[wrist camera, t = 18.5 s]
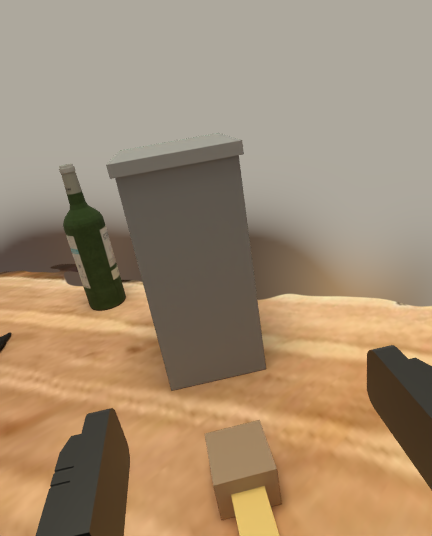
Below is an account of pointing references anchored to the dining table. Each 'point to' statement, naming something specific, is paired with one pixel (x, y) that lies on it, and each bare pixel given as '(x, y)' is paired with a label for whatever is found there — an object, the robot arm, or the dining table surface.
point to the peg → (244, 477)
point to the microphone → (4, 340)
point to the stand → (193, 254)
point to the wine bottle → (91, 247)
